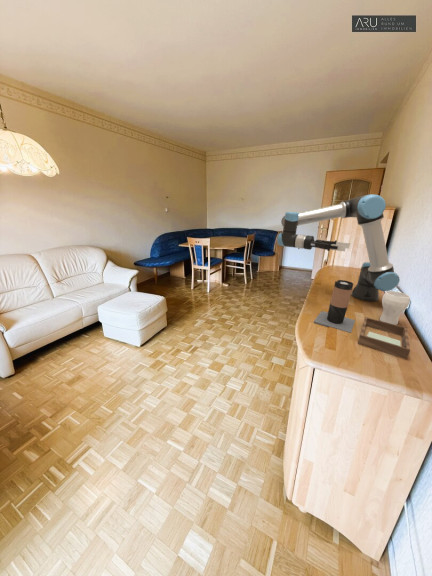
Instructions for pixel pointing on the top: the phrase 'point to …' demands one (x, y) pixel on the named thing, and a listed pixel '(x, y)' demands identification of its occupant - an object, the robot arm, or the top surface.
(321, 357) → the top surface
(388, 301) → the cup
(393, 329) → the brown wooden tray
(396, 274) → the robot arm
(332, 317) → the travel mug
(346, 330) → the charcoal mat
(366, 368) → the top surface
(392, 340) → the top offcut
